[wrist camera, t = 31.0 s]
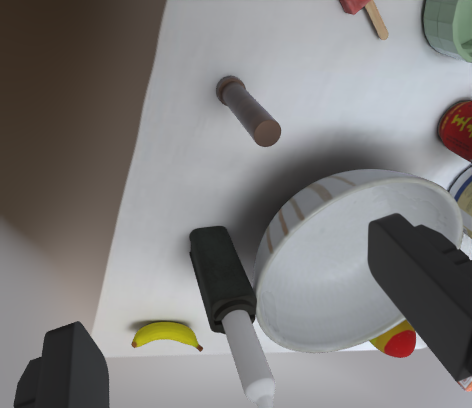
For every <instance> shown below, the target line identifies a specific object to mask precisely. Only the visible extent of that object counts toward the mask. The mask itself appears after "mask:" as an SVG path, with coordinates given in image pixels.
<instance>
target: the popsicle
mask: <svg viewBox="0 0 472 408" xmlns="http://www.w3.org/2000/svg"><path fill="white" fill-rule="evenodd" d="M340 3H341V5H342V7H343V9H344V11H345V12H346V13H348V14H352V15H355V14H356V13H357V12H358V11H359V10H360V9H362V8H363V7H364V6H365V8H366V10H367V12H368V14H369V16H370V18H371V21H372V23H373V25H374V27H375V29H376V31H377V33H378V35H379V37H380V39H381V40H386V39H387V38H388V31H387V29H386V27H385V25H384V22H383V20H382V18H381V16H380V14H379V12H378V9H377V7H376V5H375V3H374V1H373V0H340Z"/></svg>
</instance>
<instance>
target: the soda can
mask: <svg viewBox="0 0 472 408" xmlns="http://www.w3.org/2000/svg"><path fill="white" fill-rule="evenodd" d="M438 134H439V136H440V138H441V139H442V141H443V143H444V145H445V146H446V147H447V148H448V149H449V150H451V151H452V152H454V153H456V154H457V155H459V156H461V157H462V158H464V159H466V160H468V161H469V162H471V163H472V101H469V102H468V101H463V102H458V103H456V104H455V105H453V106H452V107H450V108H449V109H448V110H447V111H446V112H445V114H444V115H443V117H442V118H441V120H440V122H439V126H438Z"/></svg>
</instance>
